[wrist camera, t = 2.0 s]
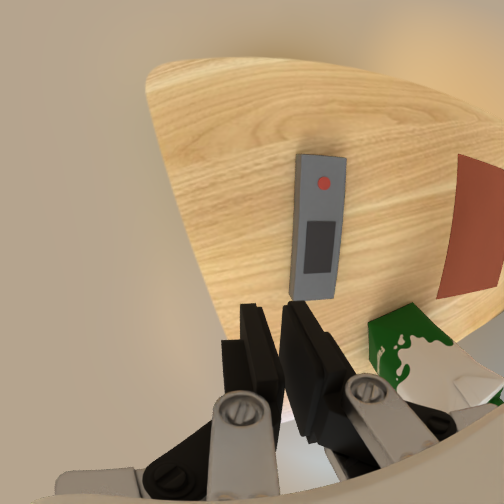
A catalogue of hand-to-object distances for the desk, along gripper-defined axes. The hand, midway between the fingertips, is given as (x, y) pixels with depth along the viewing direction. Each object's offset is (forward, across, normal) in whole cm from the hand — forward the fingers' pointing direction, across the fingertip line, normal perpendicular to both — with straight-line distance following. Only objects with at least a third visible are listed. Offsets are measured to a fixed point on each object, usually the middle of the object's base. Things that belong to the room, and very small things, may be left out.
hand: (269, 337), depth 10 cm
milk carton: (+17, -20, +14) cm, 30 cm away
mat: (+17, -37, 0) cm, 40 cm away
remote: (+17, -8, 0) cm, 19 cm away
